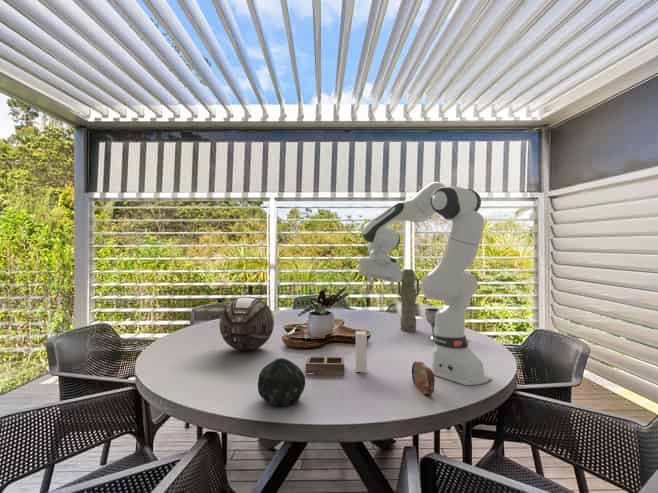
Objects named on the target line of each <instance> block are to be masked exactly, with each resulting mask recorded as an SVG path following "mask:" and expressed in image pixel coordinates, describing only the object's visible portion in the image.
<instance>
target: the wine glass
mask: <svg viewBox="0 0 658 493" xmlns="http://www.w3.org/2000/svg"><path fill="white" fill-rule="evenodd" d="M439 309H440V308H431V307H430V308H425V310H424V313H425V314H424V315H425V319H426V321H427V322H428V323H429V325H430V327H431V330H432V332H431V335H429V336H426V337H425V338H426V339H428V340H433V341H434V333H435V314H436V312H437V311H438V310H439Z"/></svg>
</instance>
